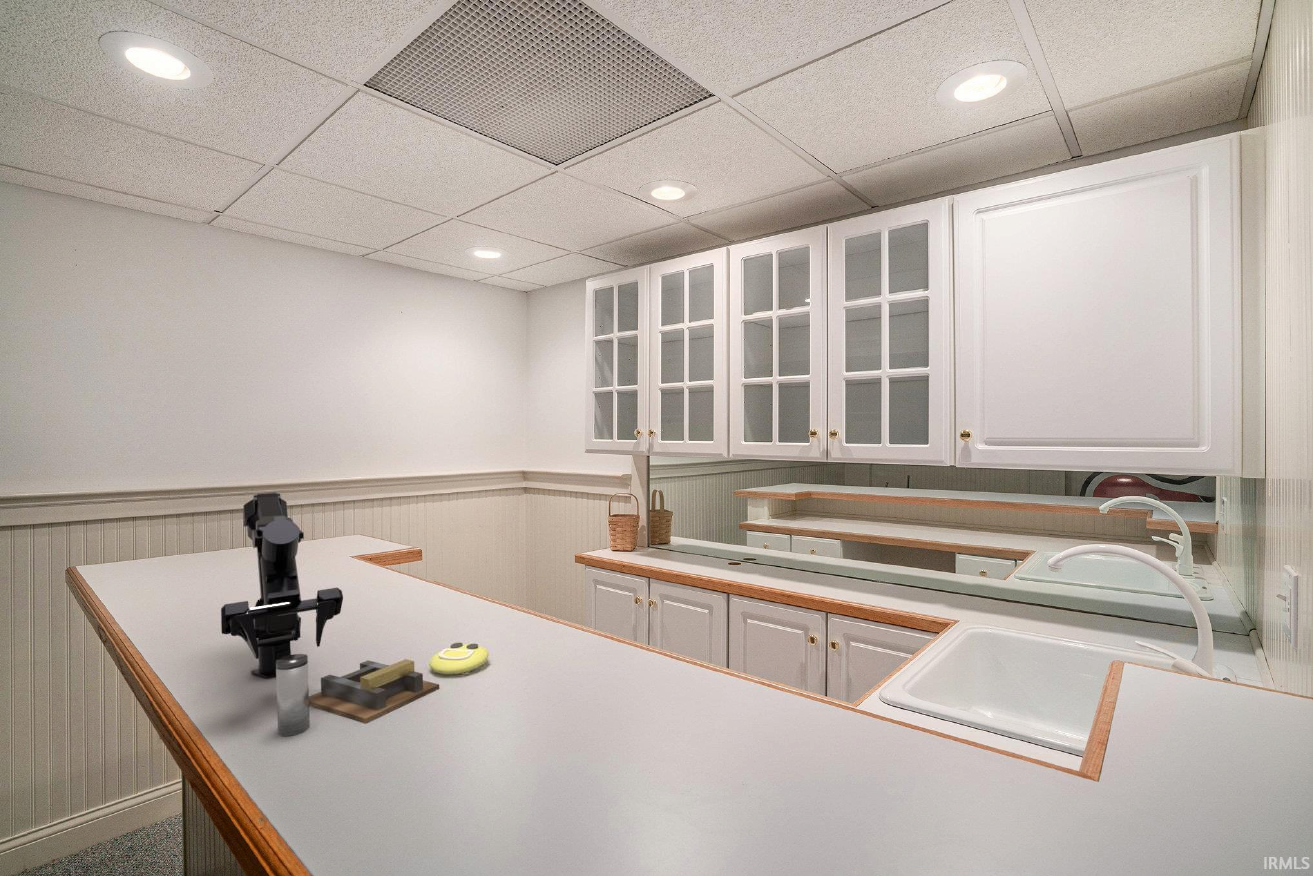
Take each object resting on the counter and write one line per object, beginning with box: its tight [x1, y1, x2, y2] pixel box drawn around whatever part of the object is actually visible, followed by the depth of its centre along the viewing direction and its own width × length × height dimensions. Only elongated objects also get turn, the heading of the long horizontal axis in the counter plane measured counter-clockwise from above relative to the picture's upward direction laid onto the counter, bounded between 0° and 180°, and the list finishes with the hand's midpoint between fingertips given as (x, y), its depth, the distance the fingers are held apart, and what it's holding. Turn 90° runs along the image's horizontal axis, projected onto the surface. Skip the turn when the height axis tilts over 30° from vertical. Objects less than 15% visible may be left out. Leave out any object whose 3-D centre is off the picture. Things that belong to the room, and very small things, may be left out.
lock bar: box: [360, 658, 416, 691], centre depth 116 cm, size 2×10×2 cm, turn 151°
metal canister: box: [275, 653, 311, 737], centre depth 105 cm, size 5×5×12 cm
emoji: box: [428, 642, 490, 675], centre depth 132 cm, size 4×12×12 cm
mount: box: [309, 659, 440, 724], centre depth 118 cm, size 18×16×4 cm
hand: (288, 651), depth 109 cm, fingers open, 9 cm apart
